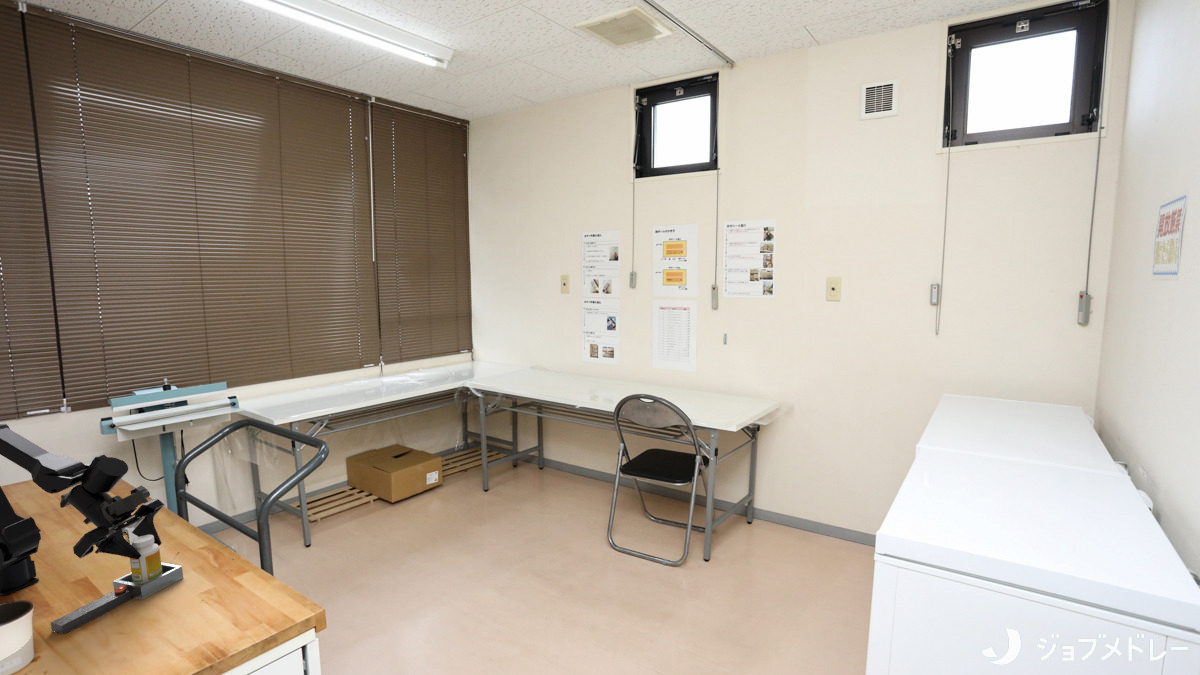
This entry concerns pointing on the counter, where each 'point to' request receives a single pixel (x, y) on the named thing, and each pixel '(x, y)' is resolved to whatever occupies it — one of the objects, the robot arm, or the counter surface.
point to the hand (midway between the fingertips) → (149, 551)
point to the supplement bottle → (145, 560)
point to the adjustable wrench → (130, 533)
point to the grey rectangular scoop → (118, 597)
